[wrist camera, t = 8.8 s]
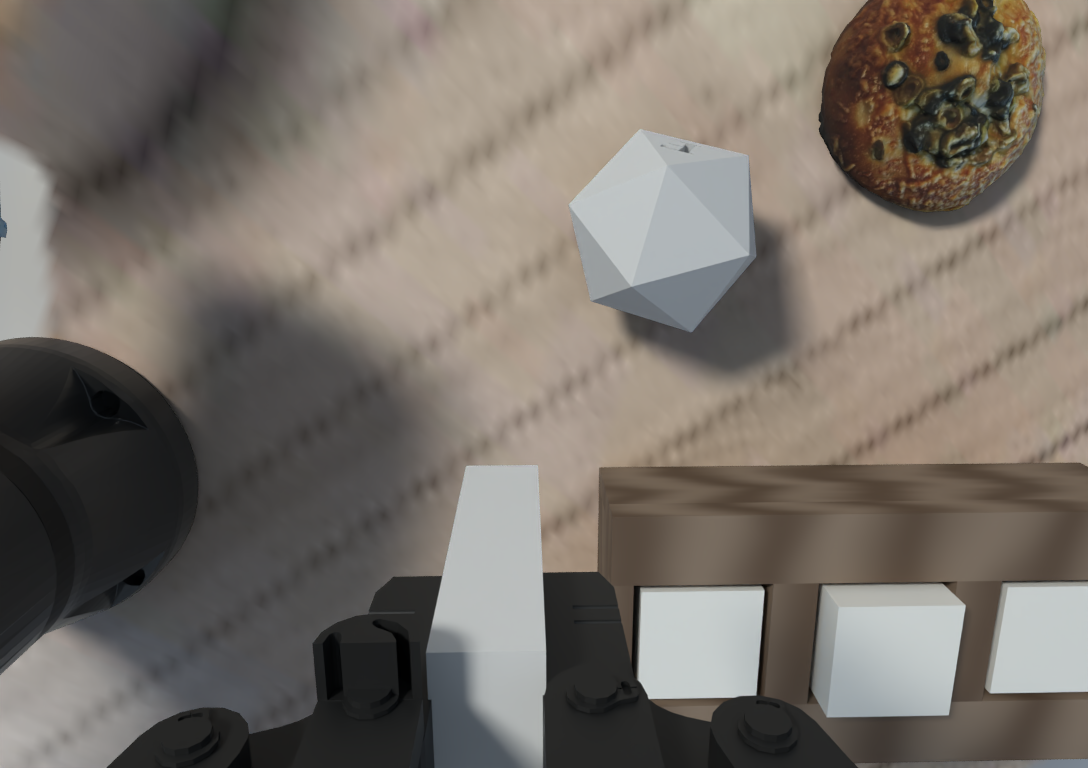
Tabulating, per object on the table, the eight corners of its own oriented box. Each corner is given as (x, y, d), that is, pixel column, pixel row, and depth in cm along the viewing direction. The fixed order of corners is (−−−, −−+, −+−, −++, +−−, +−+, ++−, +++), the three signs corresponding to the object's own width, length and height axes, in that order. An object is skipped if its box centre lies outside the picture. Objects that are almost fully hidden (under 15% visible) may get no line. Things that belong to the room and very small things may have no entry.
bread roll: (771, 63, 37) (824, 38, 32) (955, -67, 37) (1037, -111, 32) (872, 253, 39) (935, 258, 35) (1042, 132, 40) (1129, 120, 35)
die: (767, 236, 39) (800, 106, 31) (714, 379, 37) (732, 283, 28) (621, 196, 42) (611, 64, 33) (561, 329, 39) (533, 225, 30)
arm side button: (629, 663, 41) (637, 699, 38) (633, 562, 39) (641, 592, 36) (739, 661, 41) (755, 697, 38) (746, 561, 39) (764, 590, 37)
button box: (595, 687, 45) (606, 767, 39) (599, 467, 42) (612, 517, 35) (1038, 680, 46) (1120, 758, 39) (1079, 462, 42) (1176, 510, 36)
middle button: (804, 678, 40) (826, 717, 37) (814, 575, 38) (838, 607, 35) (917, 676, 40) (948, 715, 37) (932, 573, 38) (965, 605, 35)
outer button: (957, 657, 41) (989, 693, 38) (972, 558, 40) (1007, 587, 37) (1065, 656, 41) (1105, 691, 38) (1084, 556, 40) (1128, 585, 37)
